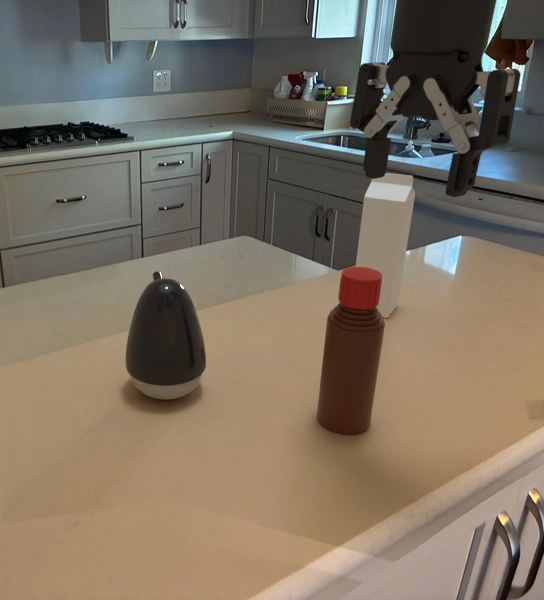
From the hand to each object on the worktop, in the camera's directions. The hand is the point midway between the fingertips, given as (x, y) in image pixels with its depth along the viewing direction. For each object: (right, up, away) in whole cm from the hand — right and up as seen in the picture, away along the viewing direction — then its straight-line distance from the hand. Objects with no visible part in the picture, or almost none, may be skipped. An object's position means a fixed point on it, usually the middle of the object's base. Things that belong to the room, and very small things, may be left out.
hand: (412, 185), depth 57 cm
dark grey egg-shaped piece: (-22, -22, +23) cm, 39 cm away
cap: (-2, -11, +9) cm, 14 cm away
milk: (+13, -12, +44) cm, 47 cm away
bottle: (-1, -25, +16) cm, 29 cm away
